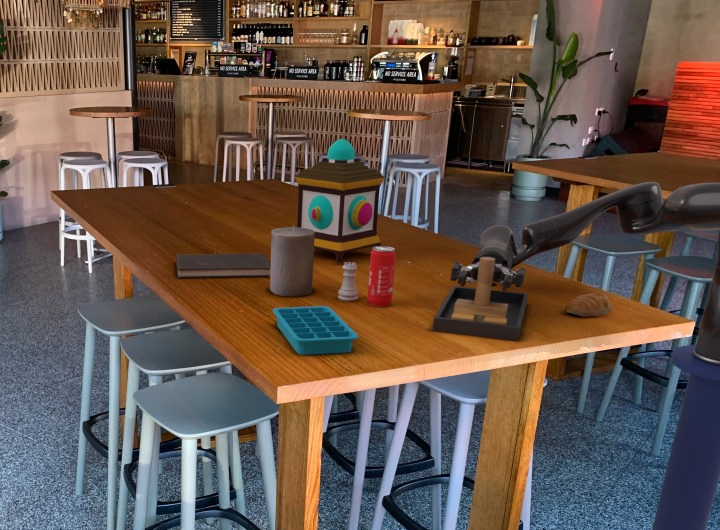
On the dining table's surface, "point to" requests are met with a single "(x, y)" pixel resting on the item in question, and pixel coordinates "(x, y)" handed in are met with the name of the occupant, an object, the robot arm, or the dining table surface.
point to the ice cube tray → (315, 330)
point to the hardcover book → (222, 265)
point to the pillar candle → (292, 261)
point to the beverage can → (381, 276)
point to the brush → (482, 295)
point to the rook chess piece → (348, 283)
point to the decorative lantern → (340, 201)
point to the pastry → (589, 305)
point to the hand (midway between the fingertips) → (483, 283)
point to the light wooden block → (463, 316)
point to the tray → (508, 331)
